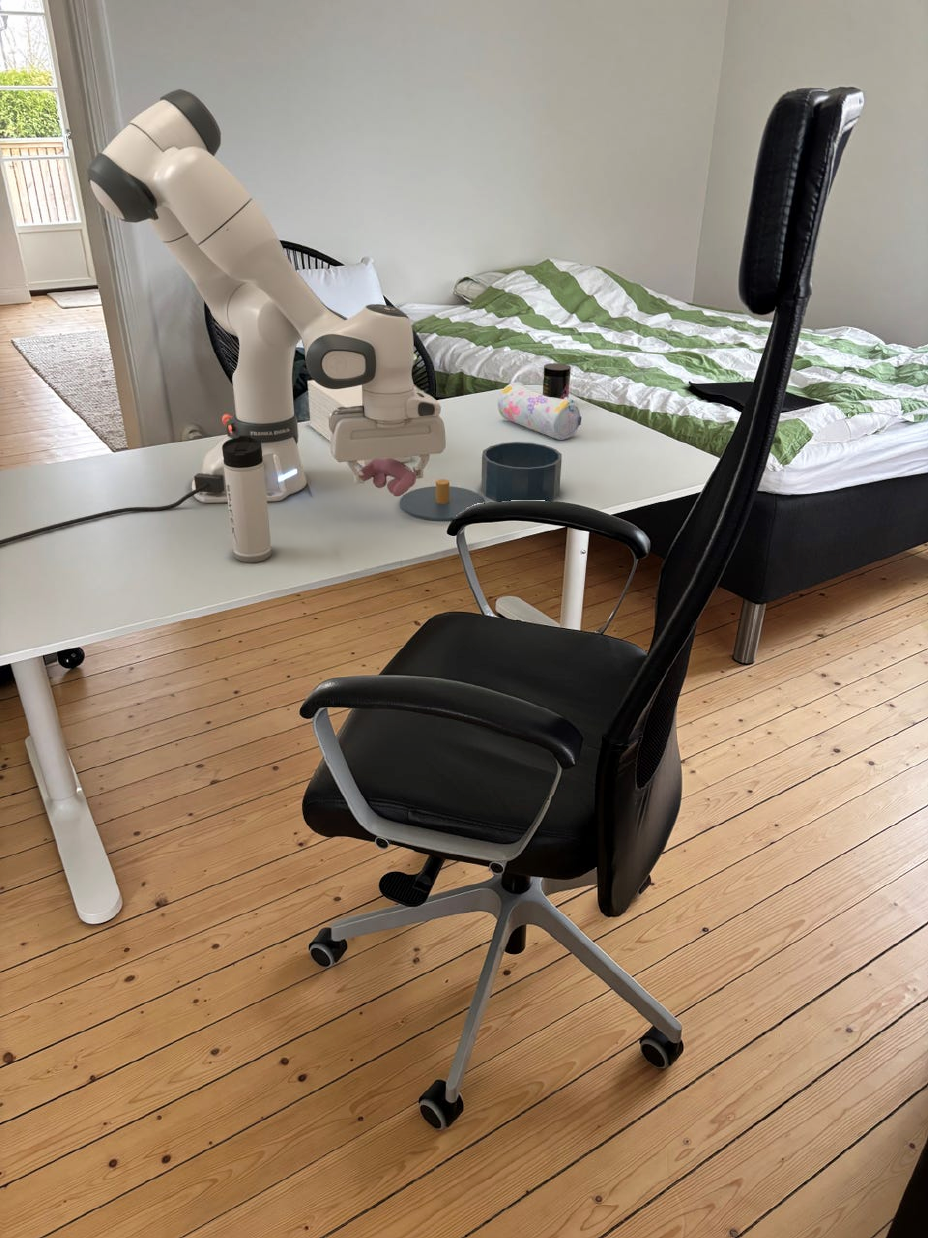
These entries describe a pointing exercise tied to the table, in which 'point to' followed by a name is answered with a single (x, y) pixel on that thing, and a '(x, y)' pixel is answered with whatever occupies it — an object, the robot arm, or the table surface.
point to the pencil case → (539, 411)
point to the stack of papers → (329, 401)
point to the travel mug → (247, 498)
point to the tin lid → (438, 501)
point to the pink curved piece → (389, 468)
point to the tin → (521, 472)
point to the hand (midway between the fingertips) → (389, 479)
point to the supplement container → (556, 380)
